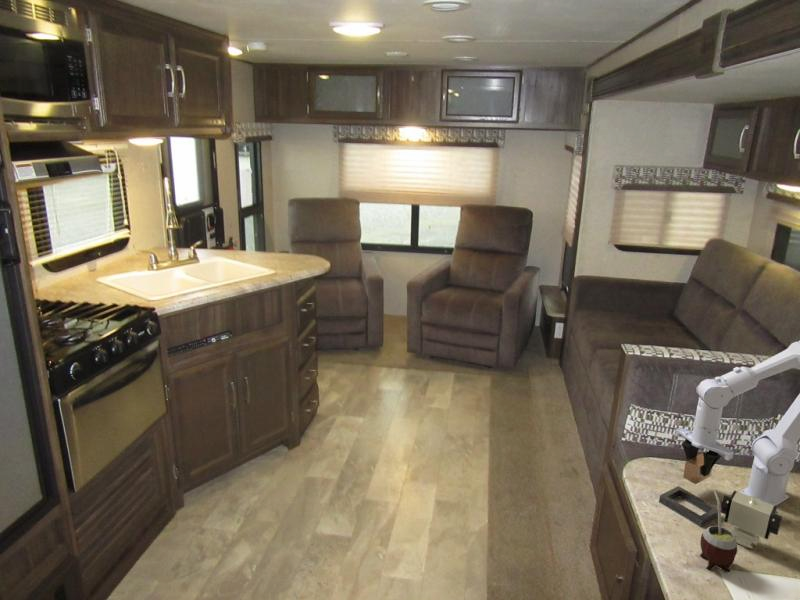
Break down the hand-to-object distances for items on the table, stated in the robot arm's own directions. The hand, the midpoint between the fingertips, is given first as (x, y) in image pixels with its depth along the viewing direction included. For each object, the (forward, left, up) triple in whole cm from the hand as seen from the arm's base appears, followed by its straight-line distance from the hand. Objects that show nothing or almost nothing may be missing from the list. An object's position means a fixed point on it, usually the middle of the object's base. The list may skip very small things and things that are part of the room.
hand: (698, 470), depth 152 cm
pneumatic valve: (+9, +18, -6) cm, 21 cm away
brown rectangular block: (0, 0, -2) cm, 2 cm away
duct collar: (+9, +4, -6) cm, 12 cm away
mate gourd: (+22, +18, -6) cm, 29 cm away
